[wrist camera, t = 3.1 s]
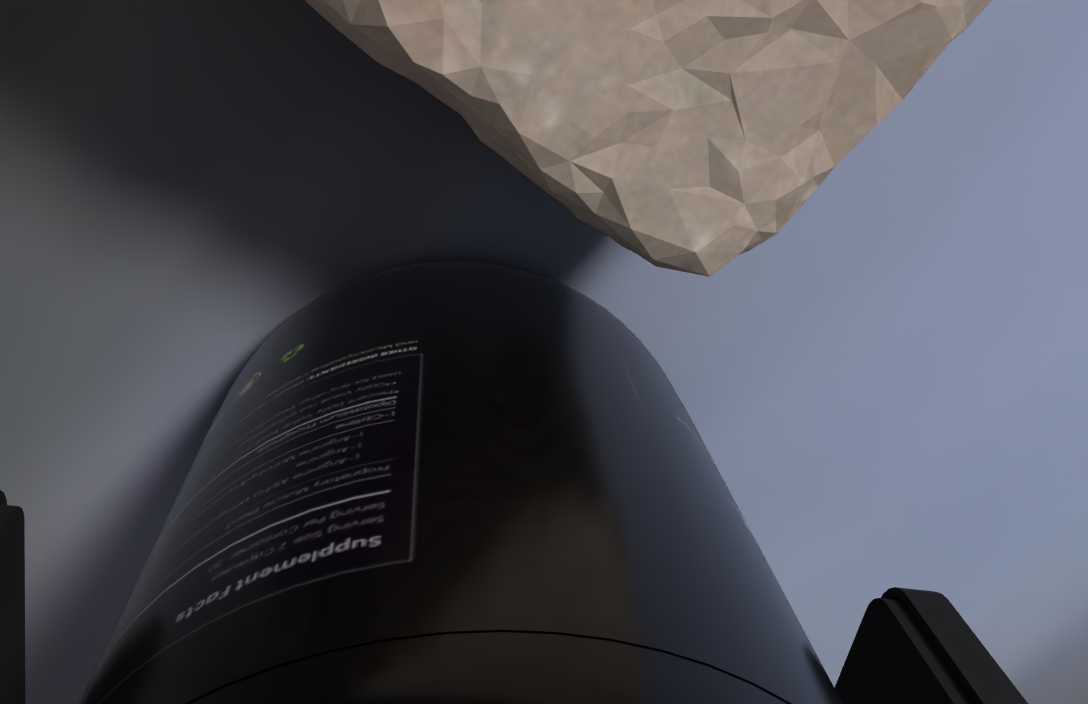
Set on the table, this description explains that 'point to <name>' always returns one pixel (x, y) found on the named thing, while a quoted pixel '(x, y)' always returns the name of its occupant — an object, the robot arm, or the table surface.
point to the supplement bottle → (455, 520)
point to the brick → (665, 99)
